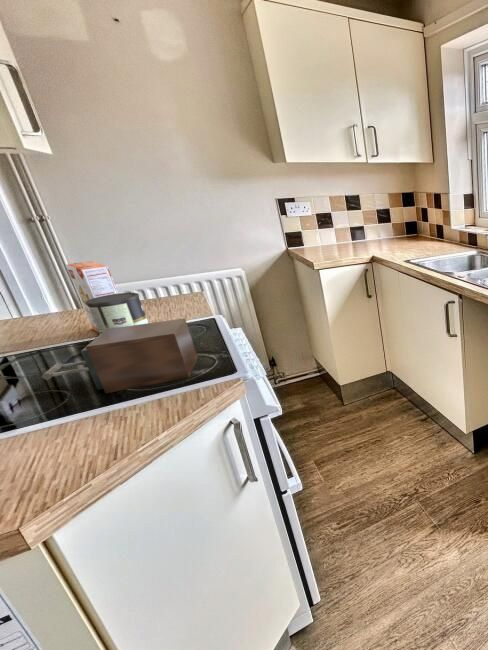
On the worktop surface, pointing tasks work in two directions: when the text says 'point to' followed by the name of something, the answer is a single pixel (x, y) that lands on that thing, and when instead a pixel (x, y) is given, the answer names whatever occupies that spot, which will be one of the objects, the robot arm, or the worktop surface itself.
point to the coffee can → (117, 311)
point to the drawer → (57, 367)
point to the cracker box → (91, 283)
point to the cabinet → (143, 355)
